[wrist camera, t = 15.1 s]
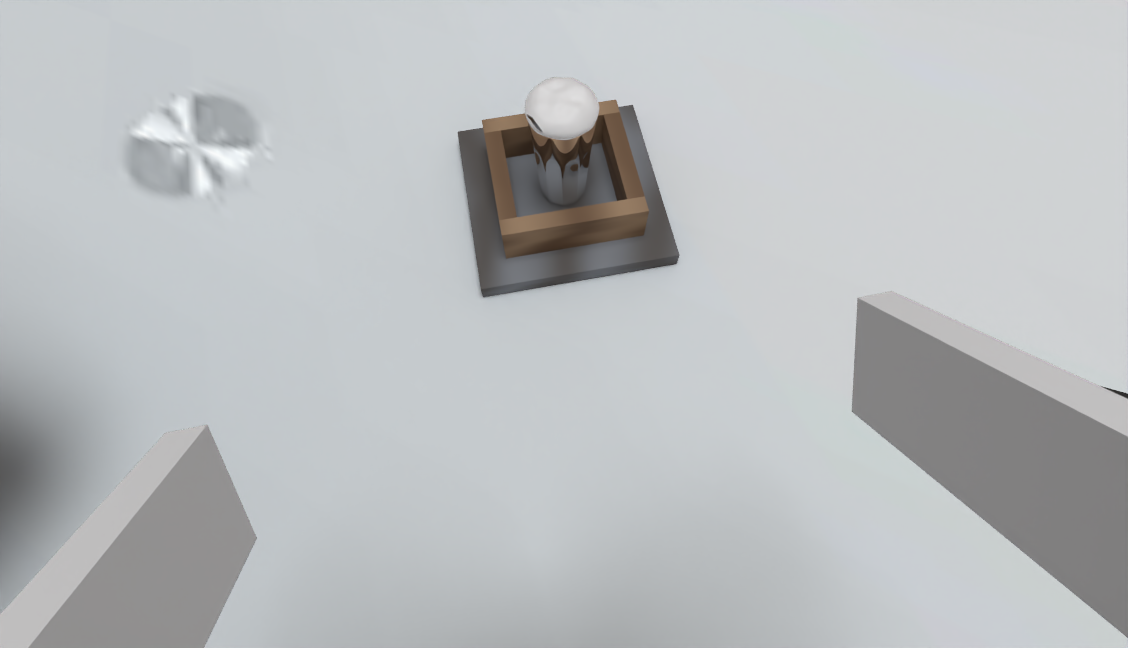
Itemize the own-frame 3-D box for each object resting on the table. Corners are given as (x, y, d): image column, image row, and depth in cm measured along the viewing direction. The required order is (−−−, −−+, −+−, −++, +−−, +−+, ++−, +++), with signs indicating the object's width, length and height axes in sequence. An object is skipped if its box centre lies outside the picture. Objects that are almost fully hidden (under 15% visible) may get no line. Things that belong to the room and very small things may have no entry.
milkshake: (513, 200, 43) (497, 97, 34) (557, 153, 45) (553, 43, 35) (562, 232, 42) (560, 134, 33) (605, 182, 43) (615, 76, 34)
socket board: (483, 296, 41) (474, 267, 37) (460, 142, 47) (450, 103, 43) (676, 263, 42) (687, 231, 38) (631, 115, 48) (636, 74, 44)
